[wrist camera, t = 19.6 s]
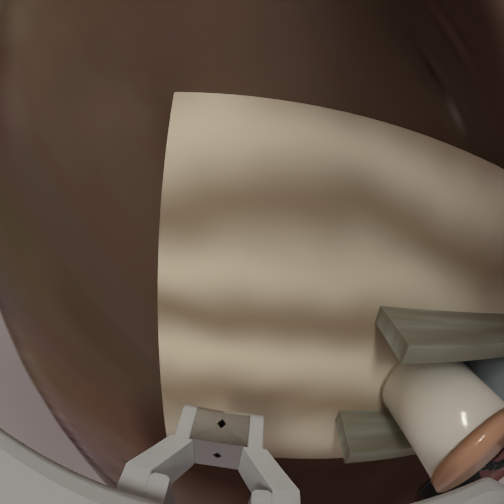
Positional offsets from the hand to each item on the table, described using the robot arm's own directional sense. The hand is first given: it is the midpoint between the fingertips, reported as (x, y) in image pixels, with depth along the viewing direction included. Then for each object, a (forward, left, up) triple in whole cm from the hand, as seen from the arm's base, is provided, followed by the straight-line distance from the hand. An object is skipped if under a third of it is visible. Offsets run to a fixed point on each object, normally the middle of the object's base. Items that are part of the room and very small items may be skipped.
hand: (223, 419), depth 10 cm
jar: (+2, +12, -6) cm, 14 cm away
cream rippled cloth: (0, +14, -7) cm, 16 cm away
